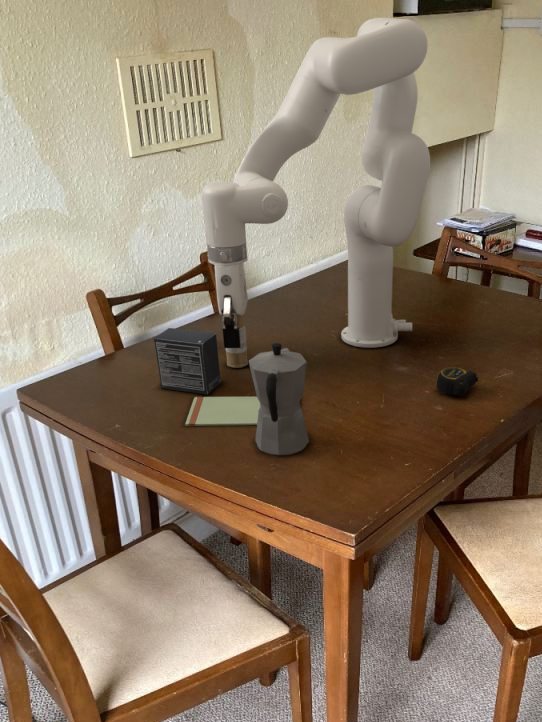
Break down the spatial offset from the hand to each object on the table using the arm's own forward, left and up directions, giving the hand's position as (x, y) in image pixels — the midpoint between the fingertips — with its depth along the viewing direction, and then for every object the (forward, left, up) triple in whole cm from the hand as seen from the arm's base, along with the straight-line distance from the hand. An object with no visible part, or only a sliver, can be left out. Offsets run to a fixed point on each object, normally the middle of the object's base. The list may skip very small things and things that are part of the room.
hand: (234, 338), depth 157 cm
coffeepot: (-11, +35, -6) cm, 37 cm away
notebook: (-4, +21, -6) cm, 23 cm away
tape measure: (-44, +14, -6) cm, 47 cm away
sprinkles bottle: (0, 0, -6) cm, 6 cm away
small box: (+8, +10, -6) cm, 14 cm away
